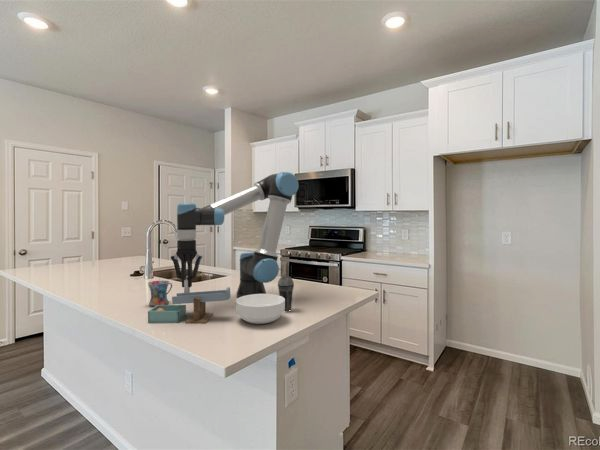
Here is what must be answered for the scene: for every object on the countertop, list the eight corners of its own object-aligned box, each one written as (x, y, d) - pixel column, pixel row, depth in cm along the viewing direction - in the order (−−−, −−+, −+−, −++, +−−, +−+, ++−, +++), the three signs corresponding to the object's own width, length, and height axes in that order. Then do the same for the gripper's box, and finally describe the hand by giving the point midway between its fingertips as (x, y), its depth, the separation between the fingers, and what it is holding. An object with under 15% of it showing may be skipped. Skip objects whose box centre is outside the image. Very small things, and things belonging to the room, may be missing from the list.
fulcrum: (212, 314, 140) (212, 292, 139) (206, 323, 129) (206, 299, 128) (193, 314, 139) (193, 292, 139) (185, 323, 128) (185, 299, 128)
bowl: (264, 332, 119) (264, 309, 119) (225, 322, 130) (225, 301, 129) (294, 318, 136) (294, 297, 136) (257, 310, 146) (257, 291, 146)
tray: (185, 315, 138) (185, 304, 138) (178, 322, 129) (178, 311, 129) (157, 315, 138) (157, 305, 138) (147, 322, 129) (147, 311, 129)
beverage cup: (296, 309, 148) (296, 265, 148) (290, 313, 141) (290, 267, 141) (281, 307, 151) (281, 264, 150) (274, 311, 144) (275, 266, 143)
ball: (163, 305, 135) (155, 309, 135) (160, 308, 132) (152, 312, 132) (167, 313, 135) (159, 317, 135) (164, 316, 132) (156, 320, 132)
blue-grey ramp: (233, 293, 144) (232, 283, 144) (227, 301, 131) (227, 290, 131) (183, 296, 143) (182, 287, 143) (172, 305, 130) (171, 294, 130)
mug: (156, 308, 148) (156, 285, 147) (143, 305, 152) (143, 283, 152) (178, 302, 158) (178, 280, 158) (165, 300, 163) (165, 278, 162)
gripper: (204, 238, 143) (204, 292, 144) (174, 238, 143) (174, 292, 143) (199, 240, 136) (199, 296, 136) (167, 240, 135) (168, 297, 136)
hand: (186, 294), depth 140 cm, fingers closed
